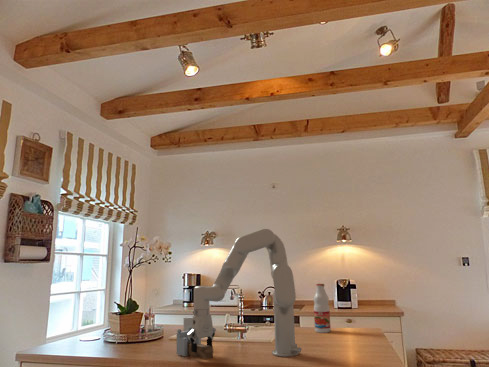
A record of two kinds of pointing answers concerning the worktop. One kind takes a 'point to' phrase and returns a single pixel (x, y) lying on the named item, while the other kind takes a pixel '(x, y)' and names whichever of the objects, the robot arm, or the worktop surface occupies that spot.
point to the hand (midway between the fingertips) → (201, 350)
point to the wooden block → (201, 351)
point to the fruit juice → (321, 310)
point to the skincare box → (189, 324)
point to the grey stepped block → (183, 341)
